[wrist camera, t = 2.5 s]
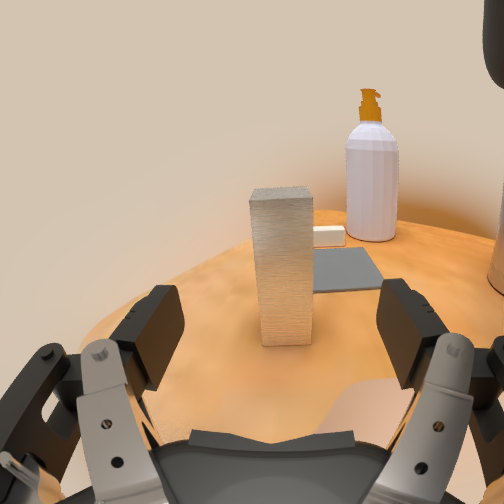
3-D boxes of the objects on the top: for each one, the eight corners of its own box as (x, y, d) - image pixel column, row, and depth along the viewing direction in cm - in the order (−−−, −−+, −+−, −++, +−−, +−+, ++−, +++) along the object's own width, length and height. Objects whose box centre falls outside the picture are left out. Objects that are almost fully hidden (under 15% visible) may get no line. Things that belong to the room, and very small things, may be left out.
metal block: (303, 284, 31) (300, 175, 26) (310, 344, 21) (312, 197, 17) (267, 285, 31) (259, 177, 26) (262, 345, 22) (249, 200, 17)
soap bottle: (402, 230, 43) (402, 94, 34) (385, 246, 38) (384, 83, 28) (360, 221, 49) (357, 94, 40) (337, 235, 44) (331, 86, 34)
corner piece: (341, 240, 41) (342, 225, 40) (362, 280, 30) (364, 260, 29) (277, 243, 42) (276, 228, 41) (276, 285, 31) (275, 265, 30)
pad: (362, 249, 38) (363, 247, 38) (388, 287, 28) (388, 285, 28) (302, 251, 39) (302, 249, 39) (309, 293, 29) (309, 290, 29)
